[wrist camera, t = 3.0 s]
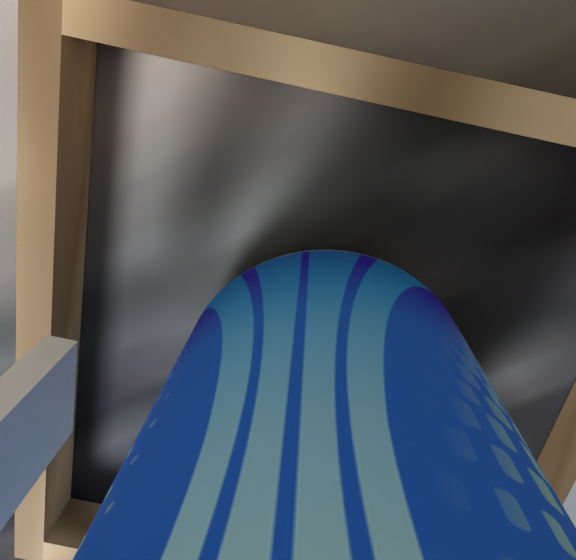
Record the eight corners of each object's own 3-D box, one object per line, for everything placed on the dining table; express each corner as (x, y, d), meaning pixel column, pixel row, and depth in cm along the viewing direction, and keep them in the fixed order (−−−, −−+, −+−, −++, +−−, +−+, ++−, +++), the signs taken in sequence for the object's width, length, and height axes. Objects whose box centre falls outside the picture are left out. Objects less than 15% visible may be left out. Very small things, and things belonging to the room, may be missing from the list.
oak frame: (44, 512, 19) (14, 557, 17) (62, -8, 13) (18, -26, 11) (495, 603, 20) (513, 656, 18) (731, 139, 13) (799, 148, 11)
